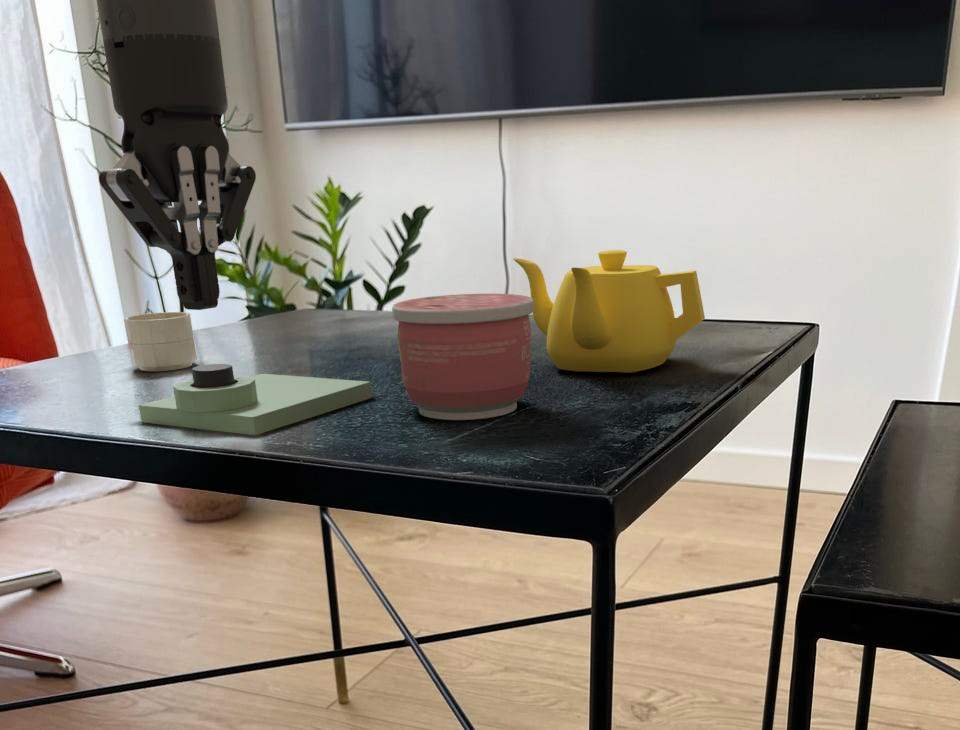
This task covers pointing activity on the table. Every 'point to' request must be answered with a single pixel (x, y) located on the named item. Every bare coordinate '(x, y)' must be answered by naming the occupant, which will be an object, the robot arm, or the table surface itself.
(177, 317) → the cream cup
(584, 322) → the teapot
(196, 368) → the button
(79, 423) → the table surface
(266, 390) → the scale
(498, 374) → the container
